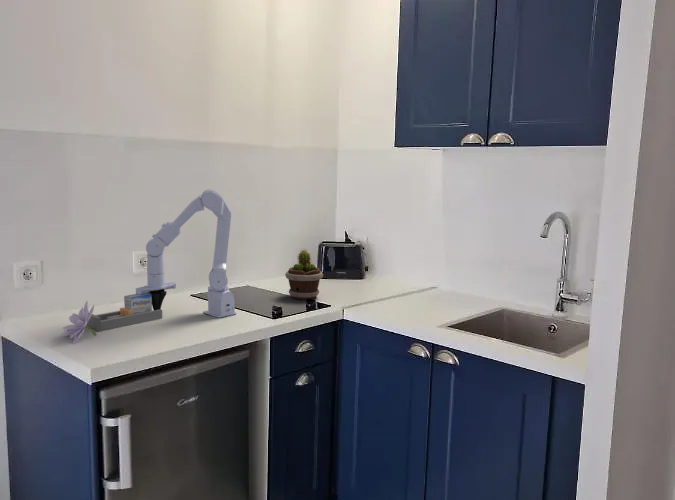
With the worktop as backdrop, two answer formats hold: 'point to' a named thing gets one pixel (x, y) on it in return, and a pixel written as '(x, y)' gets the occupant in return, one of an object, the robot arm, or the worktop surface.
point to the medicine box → (138, 303)
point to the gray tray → (120, 319)
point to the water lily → (79, 323)
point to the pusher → (122, 313)
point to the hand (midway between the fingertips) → (156, 311)
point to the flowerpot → (304, 278)
